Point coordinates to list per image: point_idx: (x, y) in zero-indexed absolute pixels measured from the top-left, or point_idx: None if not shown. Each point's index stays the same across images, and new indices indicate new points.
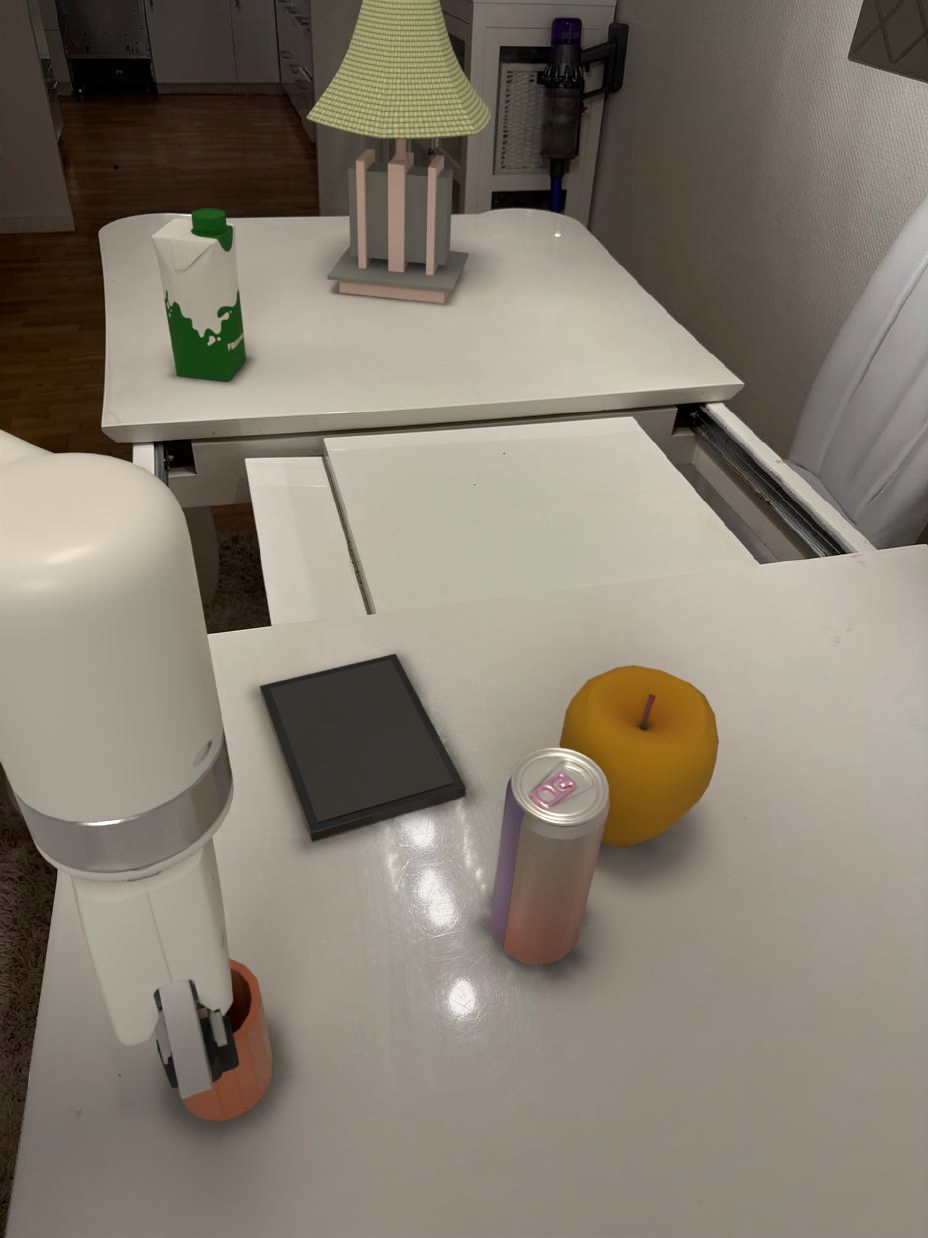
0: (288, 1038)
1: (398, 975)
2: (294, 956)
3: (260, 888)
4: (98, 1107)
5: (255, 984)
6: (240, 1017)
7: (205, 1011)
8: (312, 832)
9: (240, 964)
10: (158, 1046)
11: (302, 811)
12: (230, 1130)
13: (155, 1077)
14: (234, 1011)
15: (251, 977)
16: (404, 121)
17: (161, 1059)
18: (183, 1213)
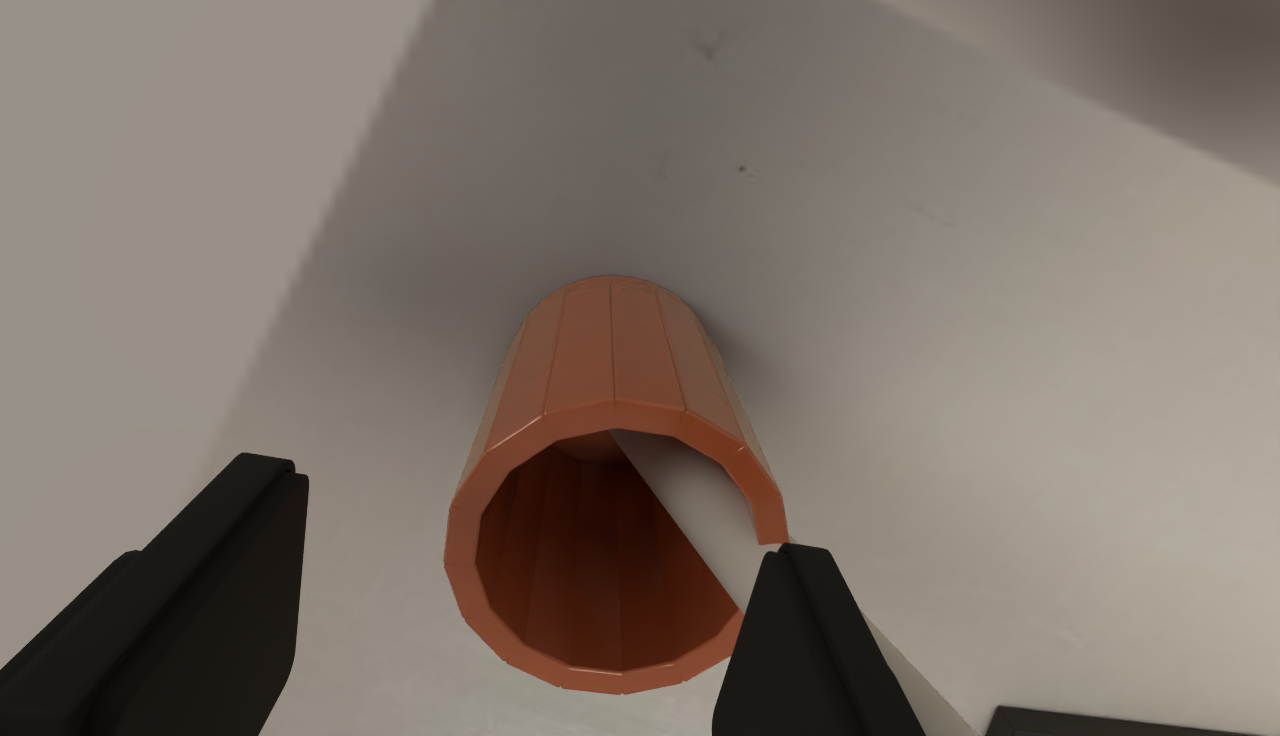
0: None
1: (617, 724)
2: None
3: (969, 583)
4: (694, 97)
5: (604, 689)
6: None
7: (671, 479)
8: (1014, 733)
9: (694, 672)
10: (11, 718)
11: (1079, 728)
12: (489, 342)
13: (688, 239)
14: None
15: (633, 686)
16: None
17: (83, 615)
18: (369, 196)
